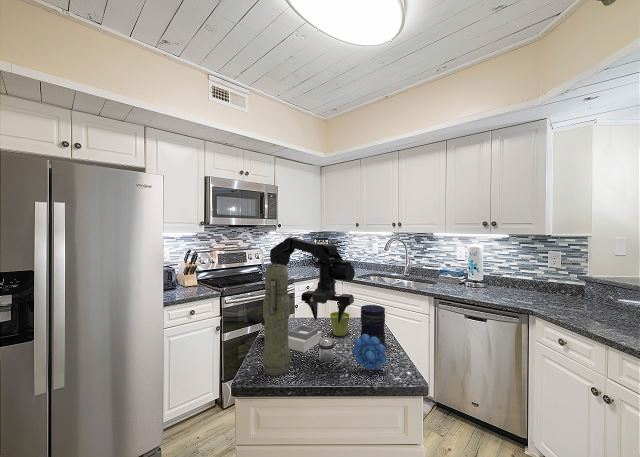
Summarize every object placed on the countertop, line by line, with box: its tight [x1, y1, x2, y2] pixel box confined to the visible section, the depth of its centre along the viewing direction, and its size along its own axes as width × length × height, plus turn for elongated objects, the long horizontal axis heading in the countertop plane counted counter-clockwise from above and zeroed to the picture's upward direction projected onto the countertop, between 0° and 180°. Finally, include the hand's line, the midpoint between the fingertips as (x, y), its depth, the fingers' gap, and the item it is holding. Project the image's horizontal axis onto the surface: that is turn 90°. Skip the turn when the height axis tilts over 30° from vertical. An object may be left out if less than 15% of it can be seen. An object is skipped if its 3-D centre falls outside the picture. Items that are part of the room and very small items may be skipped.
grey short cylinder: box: [317, 336, 335, 363], centre depth 103 cm, size 6×6×7 cm
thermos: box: [262, 263, 291, 377], centre depth 96 cm, size 9×12×35 cm
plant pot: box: [328, 311, 351, 337], centre depth 128 cm, size 9×9×9 cm
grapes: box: [351, 334, 388, 371], centre depth 94 cm, size 12×7×12 cm, turn 87°
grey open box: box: [288, 324, 322, 353], centre depth 116 cm, size 9×13×6 cm
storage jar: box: [360, 304, 386, 346], centre depth 116 cm, size 10×10×15 cm
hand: (327, 321), depth 104 cm, fingers open, 9 cm apart
